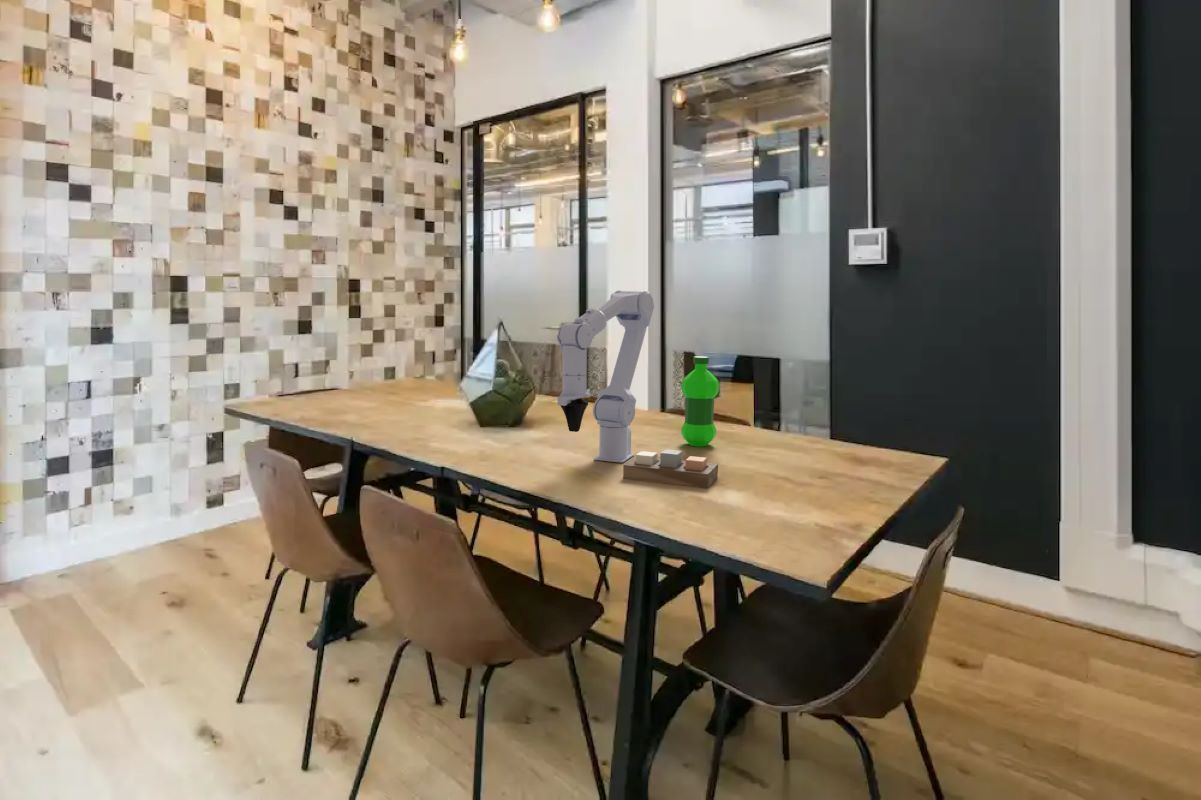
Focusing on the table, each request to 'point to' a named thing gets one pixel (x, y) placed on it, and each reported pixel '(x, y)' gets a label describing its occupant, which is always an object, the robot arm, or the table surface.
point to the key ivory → (646, 458)
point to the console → (671, 474)
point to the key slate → (671, 458)
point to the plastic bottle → (699, 404)
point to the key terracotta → (696, 463)
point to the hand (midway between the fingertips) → (574, 431)
